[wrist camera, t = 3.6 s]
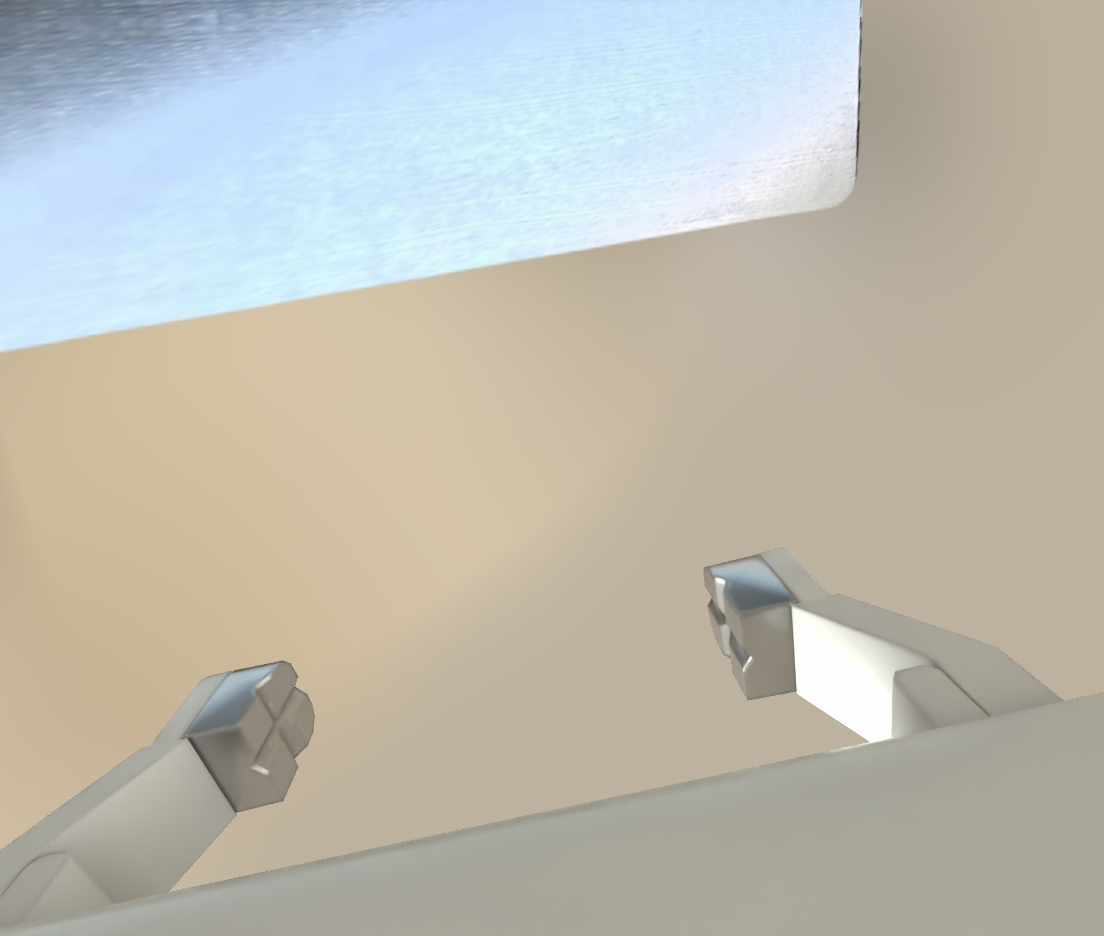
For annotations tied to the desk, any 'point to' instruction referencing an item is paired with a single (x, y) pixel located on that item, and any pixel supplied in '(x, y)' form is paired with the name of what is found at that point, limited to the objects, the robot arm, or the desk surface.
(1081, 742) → the robot arm
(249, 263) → the desk surface
